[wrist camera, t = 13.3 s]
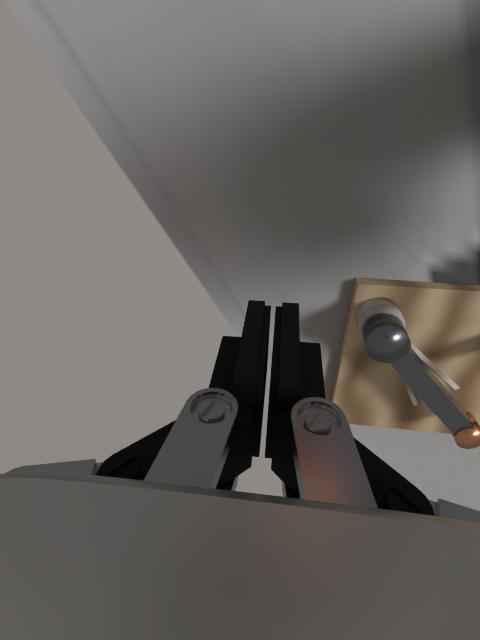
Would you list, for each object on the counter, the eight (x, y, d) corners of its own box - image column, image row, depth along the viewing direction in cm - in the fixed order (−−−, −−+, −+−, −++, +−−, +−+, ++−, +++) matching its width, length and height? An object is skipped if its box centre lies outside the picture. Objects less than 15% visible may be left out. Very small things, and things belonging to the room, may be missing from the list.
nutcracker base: (550, 289, 40) (600, 331, 34) (474, 427, 53) (500, 477, 47) (355, 277, 42) (367, 315, 36) (327, 413, 55) (332, 459, 49)
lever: (353, 327, 41) (358, 344, 38) (389, 306, 39) (396, 322, 36) (449, 432, 48) (458, 453, 46) (483, 419, 46) (495, 440, 44)
